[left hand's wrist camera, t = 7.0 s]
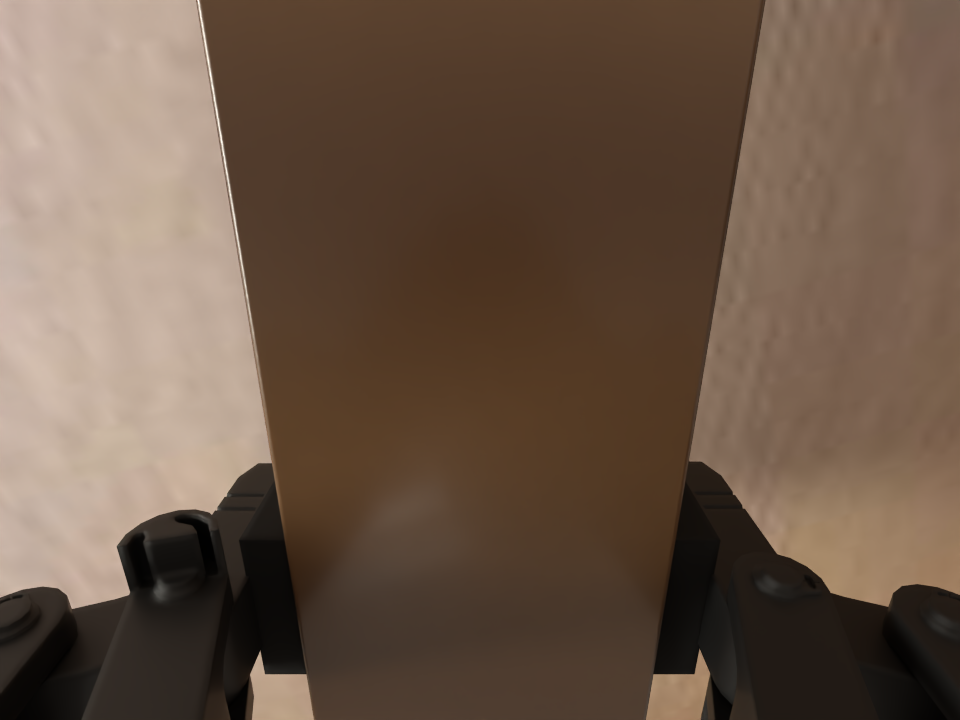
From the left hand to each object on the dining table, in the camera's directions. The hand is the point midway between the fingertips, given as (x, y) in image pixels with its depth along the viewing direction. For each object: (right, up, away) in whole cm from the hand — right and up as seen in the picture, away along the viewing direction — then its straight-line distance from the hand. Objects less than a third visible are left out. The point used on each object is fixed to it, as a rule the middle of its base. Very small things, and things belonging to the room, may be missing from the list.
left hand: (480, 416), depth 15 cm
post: (0, +21, -8) cm, 23 cm away
